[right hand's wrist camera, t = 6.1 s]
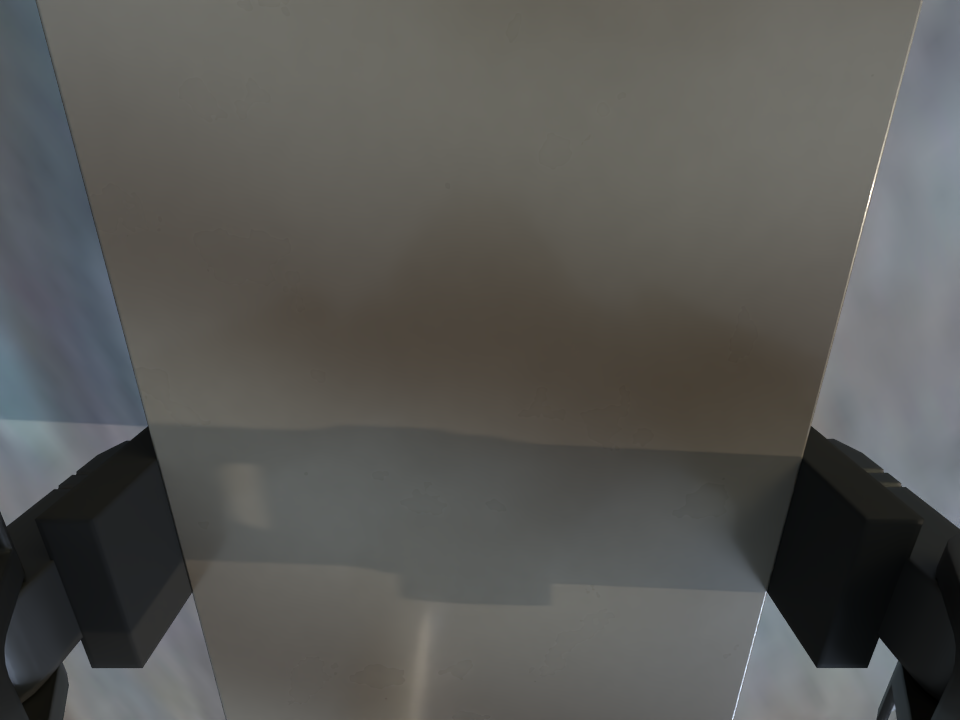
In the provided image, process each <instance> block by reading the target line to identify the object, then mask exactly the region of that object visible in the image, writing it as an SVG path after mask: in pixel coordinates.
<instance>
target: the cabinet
mask: <svg viewBox="0 0 960 720" xmlns="http://www.w3.org/2000/svg"><path fill="white" fill-rule="evenodd" d="M922 2H923V0H36V4H37V8H38V11H39V15H40V19H41V23H42V26H43V30H44V34H45V38H46V42H47V45H48V49H49V53H50V57H51V60H52V64H53V68H54V72H55V76H56V79H57V83H58V87H59V91H60V94H61V98H62V102H63V106H64V110H65V113H66V117H67V121H68V125H69V128H70V132H71V136H72V140H73V144H74V147H75V151H76V155H77V159H78V162H79V166H80V170H81V174H82V178H83V181H84V185H85V189H86V193H87V196H88V200H89V204H90V208H91V212H92V215H93V219H94V223H95V227H96V230H97V234H98V238H99V242H100V246H101V249H102V253H103V257H104V261H105V264H106V268H107V272H108V276H109V280H110V283H111V287H112V291H113V295H114V298H115V302H116V306H117V310H118V314H119V317H120V321H121V325H122V329H123V332H124V336H125V340H126V344H127V348H128V351H129V355H130V359H131V363H132V366H133V370H134V374H135V378H136V382H137V385H138V389H139V393H140V397H141V400H142V404H143V408H144V412H145V416H146V419H147V423H148V427H149V431H150V434H151V438H152V442H153V446H154V450H155V453H156V457H157V461H158V465H159V468H160V472H161V476H162V480H163V484H164V487H165V491H166V495H167V499H168V502H169V506H170V510H171V514H172V518H173V521H174V525H175V529H176V533H177V536H178V540H179V544H180V548H181V552H182V555H183V559H184V563H185V567H186V570H187V574H188V578H189V582H190V586H191V589H192V593H193V597H194V601H195V604H196V608H197V612H198V616H199V620H200V623H201V627H202V631H203V635H204V638H205V642H206V646H207V650H208V654H209V657H210V661H211V665H212V669H213V672H214V676H215V680H216V684H217V688H218V691H219V695H220V699H221V703H222V706H223V710H224V714H225V718H226V720H733V719H734V716H735V712H736V708H737V704H738V700H739V697H740V693H741V689H742V685H743V681H744V678H745V674H746V670H747V666H748V662H749V659H750V655H751V651H752V647H753V643H754V640H755V636H756V632H757V628H758V624H759V621H760V617H761V613H762V609H763V605H764V602H765V598H766V594H767V590H768V587H769V583H770V579H771V575H772V571H773V568H774V564H775V560H776V556H777V552H778V549H779V545H780V541H781V537H782V533H783V530H784V526H785V522H786V518H787V514H788V511H789V507H790V503H791V499H792V495H793V492H794V488H795V484H796V480H797V476H798V473H799V469H800V465H801V461H802V457H803V454H804V450H805V446H806V442H807V439H808V435H809V431H810V427H811V423H812V420H813V416H814V412H815V408H816V404H817V401H818V397H819V393H820V389H821V385H822V382H823V378H824V374H825V370H826V366H827V363H828V359H829V355H830V351H831V347H832V344H833V340H834V336H835V332H836V328H837V325H838V321H839V317H840V313H841V309H842V306H843V302H844V298H845V294H846V291H847V287H848V283H849V279H850V275H851V272H852V268H853V264H854V260H855V256H856V253H857V249H858V245H859V241H860V237H861V234H862V230H863V226H864V222H865V218H866V215H867V211H868V207H869V203H870V199H871V196H872V192H873V188H874V184H875V180H876V177H877V173H878V169H879V165H880V161H881V158H882V154H883V150H884V146H885V143H886V139H887V135H888V131H889V127H890V124H891V120H892V116H893V112H894V108H895V105H896V101H897V97H898V93H899V89H900V86H901V82H902V78H903V74H904V70H905V67H906V63H907V59H908V55H909V51H910V48H911V44H912V40H913V36H914V32H915V29H916V25H917V21H918V17H919V13H920V10H921V6H922Z"/></svg>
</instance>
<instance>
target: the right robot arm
mask: <svg viewBox="0 0 960 720" xmlns="http://www.w3.org/2000/svg"><path fill="white" fill-rule="evenodd" d="M191 593H192V589H191V586H190V582H189V578H188V574H187V570H186V567H185V563H184V559H183V555H182V552H181V548H180V544H179V540H178V536H177V533H176V529H175V525H174V521H173V518H172V514H171V510H170V506H169V502H168V499H167V495H166V491H165V487H164V484H163V480H162V476H161V472H160V468H159V465H158V461H157V457H156V453H155V450H154V446H153V442H152V438H151V434H150V431H149V427H147V428H145V429H144V430H143V431H142V432H140V433H139V434H138V435H137V436H136V437H134V438H133V439H132V440H131V441H125V442H123V443H121V444H119V445H117V446H115V447H113V448H111V449H109V450H107V451H105V452H103V453H101V454H99V455H97V456H96V457H94V458H93V459H92V460H91V461H89V462H88V463H87V464H86V465H84V466H83V467H82V468H81V469H79V470H78V471H77V474H76V475H72V476H70V477H69V478H68V479H67V480H65V481H64V482H63V483H61V484H60V485H59V488H58V489H54V490H53V491H51V492H50V493H49V494H48V495H46V496H45V497H44V498H42V499H41V500H40V501H39V502H37V503H36V504H35V505H34V506H32V507H31V508H30V509H28V510H27V511H26V512H25V513H23V514H22V515H21V516H20V517H18V518H17V519H16V520H15V521H13V522H12V523H11V524H9V525H8V526H7V527H6V525H5V522H4V520H3V517H2V515H1V512H0V720H63V717H64V711H65V705H66V699H67V693H68V686H69V683H68V677H67V672H66V670H65V667H64V665H63V663H62V662H63V660H64V659H65V658H66V657H67V656H68V654H69V653H70V652H71V651H72V650H73V648H74V647H75V646H76V645H77V643H78V642H79V641H80V640H81V641H82V644H83V646H84V649H85V651H86V654H87V657H88V659H89V662H90V664H91V667H92V668H143V666H144V665H145V663H146V662H147V660H148V659H149V657H150V656H151V654H152V653H153V651H154V650H155V648H156V647H157V645H158V644H159V642H160V641H161V639H162V637H163V636H164V634H165V633H166V631H167V630H168V628H169V627H170V625H171V624H172V622H173V621H174V619H175V618H176V616H177V615H178V613H179V612H180V610H181V608H182V607H183V605H184V604H185V602H186V601H187V599H188V598H189V596H190V595H191ZM767 593H768V594H769V596H770V597H771V599H772V600H773V602H774V603H775V605H776V606H777V608H778V609H779V611H780V612H781V614H782V615H783V617H784V619H785V620H786V622H787V623H788V625H789V626H790V628H791V629H792V631H793V632H794V634H795V635H796V637H797V638H798V640H799V641H800V643H801V644H802V646H803V647H804V649H805V651H806V652H807V654H808V655H809V657H810V658H811V660H812V661H813V663H814V664H815V666H816V667H817V668H868V665H869V662H870V660H871V657H872V655H873V652H874V649H875V647H876V644H877V642H878V639H879V638H880V639H881V640H882V641H883V642H884V644H885V645H886V646H887V647H888V648H889V650H890V651H891V652H892V653H893V654H894V656H895V657H896V658H897V659H898V663H897V665H896V667H895V670H894V672H893V675H892V677H891V680H890V682H889V684H888V687H887V689H886V692H885V694H884V697H883V699H882V701H881V704H880V706H879V709H878V715H877V720H888V718H889V716H890V713H891V711H893V710H896V716H897V720H960V529H959V528H958V527H956V526H955V525H954V524H952V523H951V522H950V521H949V520H947V519H946V518H945V517H943V516H942V515H941V514H940V513H938V512H937V511H936V510H935V509H933V508H932V507H931V506H929V505H928V504H927V503H926V502H924V501H923V500H922V499H920V498H919V497H918V496H917V495H915V494H914V493H913V492H911V491H910V490H909V489H908V488H906V487H902V486H901V483H900V482H899V481H897V480H896V479H895V478H894V477H892V476H891V475H890V474H888V473H884V472H883V469H882V468H881V467H880V466H878V465H877V464H876V463H874V462H873V461H872V460H871V459H869V458H868V457H867V456H865V455H864V454H863V453H861V452H859V451H857V450H855V449H853V448H851V447H849V446H847V445H845V444H843V443H841V442H839V441H837V440H835V439H826V438H825V437H824V436H823V435H821V434H820V433H819V432H818V431H816V430H815V429H814V428H813V427H812V426H811V427H810V431H809V435H808V439H807V442H806V446H805V450H804V454H803V457H802V461H801V465H800V469H799V473H798V476H797V480H796V484H795V488H794V492H793V495H792V499H791V503H790V507H789V511H788V514H787V518H786V522H785V526H784V530H783V533H782V537H781V541H780V545H779V549H778V552H777V556H776V560H775V564H774V568H773V571H772V575H771V579H770V583H769V587H768V590H767Z"/></svg>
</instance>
